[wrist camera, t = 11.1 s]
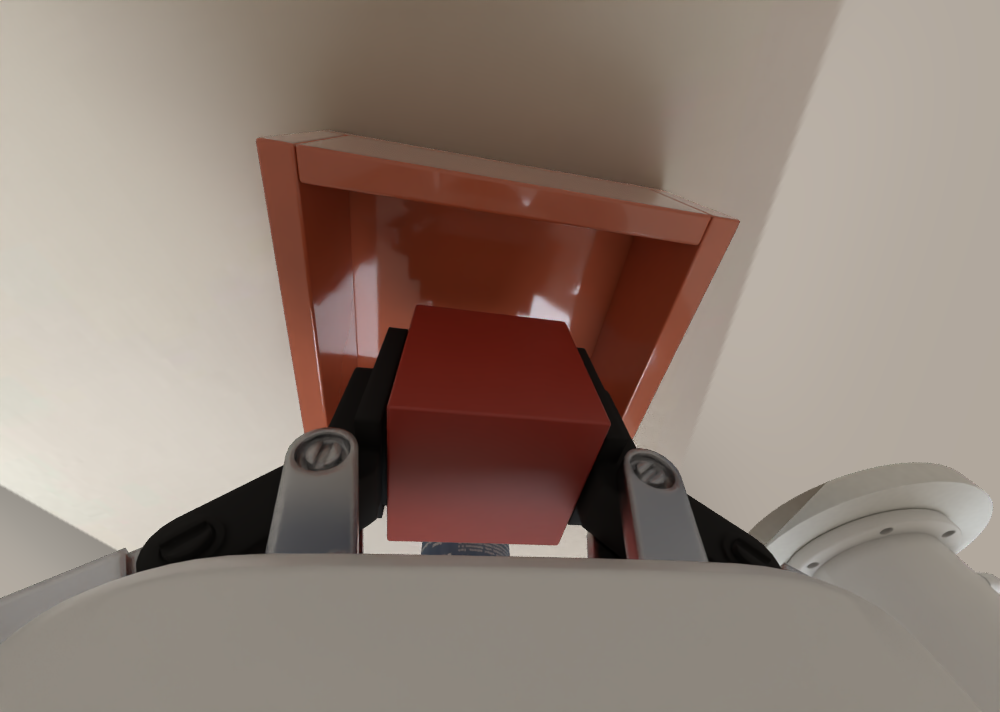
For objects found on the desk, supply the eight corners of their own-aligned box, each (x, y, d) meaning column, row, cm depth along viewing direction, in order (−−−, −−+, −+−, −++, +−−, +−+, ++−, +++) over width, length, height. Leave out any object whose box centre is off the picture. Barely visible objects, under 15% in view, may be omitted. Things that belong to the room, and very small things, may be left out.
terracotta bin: (664, 190, 13) (742, 220, 9) (576, 425, 19) (602, 502, 16) (325, 129, 12) (253, 136, 8) (346, 407, 18) (312, 487, 14)
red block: (565, 320, 11) (613, 424, 7) (534, 427, 13) (558, 546, 10) (415, 303, 10) (386, 406, 7) (410, 418, 13) (386, 542, 9)
